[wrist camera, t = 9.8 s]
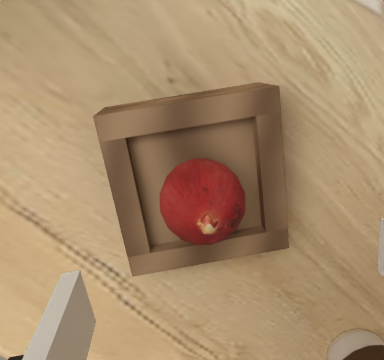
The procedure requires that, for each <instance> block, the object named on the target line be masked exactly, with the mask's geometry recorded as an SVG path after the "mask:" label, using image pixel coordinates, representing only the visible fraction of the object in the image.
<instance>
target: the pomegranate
mask: <svg viewBox="0 0 384 360" xmlns="http://www.w3.org/2000/svg"><path fill="white" fill-rule="evenodd" d="M160 212H161V215H162V217H163V219H164V221H165V223H166V225H167V227H168V229H169V230H170V231H171V232H173V233H174V234H175V235H176V236H177V237H179V238H180V239H181V240H183V241H185V242H188V243H191V244H194V245H213V244H215V243H218V242H221V241H224V240H225V239H226V238H228V237H229V236H230V235H231V234H232V233H233V232H234V231H235V230H236V229H237V228H238V226H239V224H240V222H241V220H242V218H243V216H244V214H245V191H244V189H243V187H242V185H241V183H240V181H239V179H238V177H237V175H236V174H235V173H234V172H233V171H231V170H230V169H229V168H228V167H227V166H226V165H225V164H222V163H219V162H216V161H214V160H211V159H208V158H199V159H190V160H188V161H186V162H183V163H181V164H178V165H177V166H176V167H175V168H174V169H173V170H172V171H171V172H170V173H169V174H168V175H167V176H166V179H165V181H164V184H163V187H162V189H161V192H160Z"/></svg>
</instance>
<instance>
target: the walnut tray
mask: <svg viewBox="0 0 384 360" xmlns="http://www.w3.org/2000/svg"><path fill="white" fill-rule="evenodd" d="M93 118H94V122H95V126H96V130H97V134H98V138H99V142H100V146H101V150H102V154H103V159H104V163H105V167H106V171H107V175H108V179H109V183H110V187H111V191H112V195H113V199H114V203H115V207H116V212H117V216H118V220H119V224H120V228H121V232H122V236H123V240H124V244H125V248H126V252H127V256H128V261H129V265H130V269H131V273H132V276H138V275H143V274H148V273H154V272H159V271H165V270H170V269H176V268H181V267H187V266H192V265H198V264H203V263H209V262H214V261H220V260H225V259H231V258H236V257H242V256H247V255H253V254H258V253H264V252H269V251H275V250H280V249H285V248H289V241H288V224H287V207H286V191H285V174H284V157H283V140H282V123H281V107H280V90H279V86H275V85H269V84H263V83H253V84H247V85H241V86H235V87H228V88H222V89H216V90H210V91H204V92H197V93H191V94H185V95H179V96H173V97H166V98H160V99H154V100H148V101H142V102H135V103H129V104H123V105H117V106H111V107H105V108H103V109H102V110H101V111H100V112H98V113H97V114H96V115H94V116H93ZM199 158H208V159H211V160H214V161H216V162H219V163H222V164H225V165H226V166H227V167H228V168H229V169H230V170H231V171H233V172H234V173H235V174H236V175H237V177H238V179H239V181H240V183H241V185H242V187H243V189H244V191H245V214H244V216H243V218H242V220H241V222H240V224H239V226H238V228H237V229H236V230H235V231H234V232H233V233H232V234H231V235H230V236H229V237H228V238H226V239H225V240H224V241H221V242H218V243H215V244H213V245H194V244H191V243H188V242H185V241H183V240H181V239H180V238H179V237H177V236H176V235H175V234H174V233H173V232H171V231H170V230H169V229H168V227H167V225H166V223H165V221H164V219H163V217H162V215H161V212H160V192H161V189H162V187H163V184H164V181H165V179H166V176H167V175H168V174H169V173H170V172H171V171H172V170H173V169H174V168H175V167H176V166H177V165H178V164H181V163H183V162H186V161H188V160H190V159H199Z"/></svg>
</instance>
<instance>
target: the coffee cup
mask: <svg viewBox="0 0 384 360" xmlns="http://www.w3.org/2000/svg"><path fill="white" fill-rule="evenodd" d="M327 360H384V341H382V340H381V339H380V338H379V337H378V336H377V335H376V334H373V333H371V332H369V331H366V330H362V329H355V330H349V331H347V332H344V333H342V334H340V335H339V336H338V337H336V338H335V339H334V340H333V341H332V343H331V344H330V346H329V347H328V352H327Z"/></svg>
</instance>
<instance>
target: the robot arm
mask: <svg viewBox="0 0 384 360" xmlns="http://www.w3.org/2000/svg"><path fill="white" fill-rule="evenodd" d="M378 272H379V273H380V274H381V275H382V276H383V277H384V218H380V236H379V255H378ZM95 323H96V320H95V317H94V314H93V311H92V307H91V304H90V301H89V298H88V295H87V291H86V288H85V285H84V282H83V279H82V275H81V272H80V271H74V272H68V273H63V274H62V275H61V277H60V279H59V281H58V283H57V285H56V288H55V290H54V292H53V294H52V296H51V298H50V300H49V303H48V305H47V307H46V309H45V311H44V313H43V316H42V318H41V320H40V322H39V324H38V326H37V328H36V331H35V333H34V335H33V337H32V339H31V341H30V344H29V346H28V348H27V350H26V352H25V354H24V355H20V356H15V357H10V358H9V359H8V360H86V359H87V355H88V351H89V347H90V343H91V339H92V335H93V331H94V327H95Z"/></svg>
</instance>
